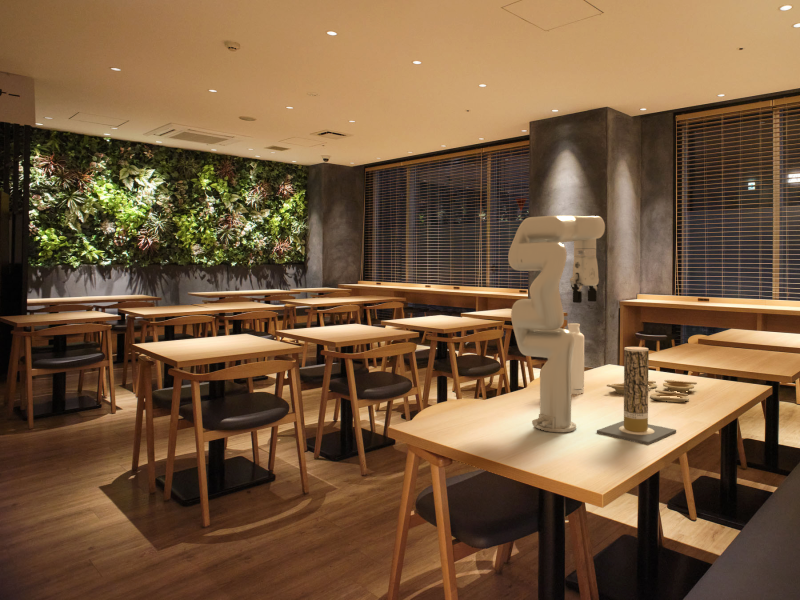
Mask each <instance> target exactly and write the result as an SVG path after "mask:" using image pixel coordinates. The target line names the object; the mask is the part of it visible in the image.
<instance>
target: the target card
mask: <svg viewBox="0 0 800 600" xmlns="http://www.w3.org/2000/svg"><path fill="white" fill-rule="evenodd" d="M599 433H600V434H601V435H605V436H608V437H612V436H613V438H617V439H621V438H622V440H627V441H630V440H631V442H634V441H635V442H636V443H640V444H644V445H651V444H653V443H655V442H657V441H658V442H659V440H663V439H664V438H667V437H669V436H671V435H673V434H676V433H677V429H674V428H668V427H666V426H665V427H664V426H660V425H653V424H649V423H648V429H647V431H645V432H632V431H628V430H626V429H625V428H624V420H621V421H619V422H616V423H613V424H611V425H608V426H605V427H602V428H599V429H597V430H596V434H599ZM600 434H599V435H600Z"/></svg>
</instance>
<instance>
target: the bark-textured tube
mask: <svg viewBox="0 0 800 600" xmlns="http://www.w3.org/2000/svg"><path fill="white" fill-rule="evenodd" d="M623 351H624V352H623V355H624V356H623V360H624V361H623V383H624V395H623V421H624V428H625V429H626V430H628V431H632V432H645V431H647V429H648V424H649V389H648V381H649V365H650V364H649V358H650V357H649V348H648V347H644V346H626V347H624V349H623Z"/></svg>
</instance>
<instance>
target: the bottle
mask: <svg viewBox="0 0 800 600" xmlns="http://www.w3.org/2000/svg"><path fill="white" fill-rule="evenodd" d="M580 326H581V323H576V322H573V323H567V328H568V329H567V330H568V331H570V332H571V333H572V334H573V336H574V350H573V356H572V365H571V395H582V394H581V393H583V394H584V393H585V335H584V334H583V333H582V332H581V330H580Z"/></svg>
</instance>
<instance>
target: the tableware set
mask: <svg viewBox="0 0 800 600" xmlns="http://www.w3.org/2000/svg"><path fill="white" fill-rule="evenodd" d="M648 385H649V386H648V390H652V389H655V393H651V394H650V395H649V396H650V398H651V399H652V400H656V401H661V402H666V401H667V402H668V403H686V402H685V401H687V402H689V401H690V398H689V397H688V396H689V394H688V393H676V392H671V391H677V392H686V391H688V392H689V391H690V390H692V389H694V388H695V385H698V382H696V381H682V380H680V381H679V380H675V379H674V380H672V379H665V380H664V382H663V383H662V386H663V387H664V388H667V389H668V391H667V390H660V389H656V388H658V385H657V384H656V381H655V380H648ZM606 387H608V388H612V389H613V390H615V392H616V393H617V394H618V395H623V396H624V382H623V383H612V384H606ZM669 390H670V391H669ZM660 396H677V397H680V398H670V397H660ZM688 400H689V401H688ZM667 402H666V403H667Z"/></svg>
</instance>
